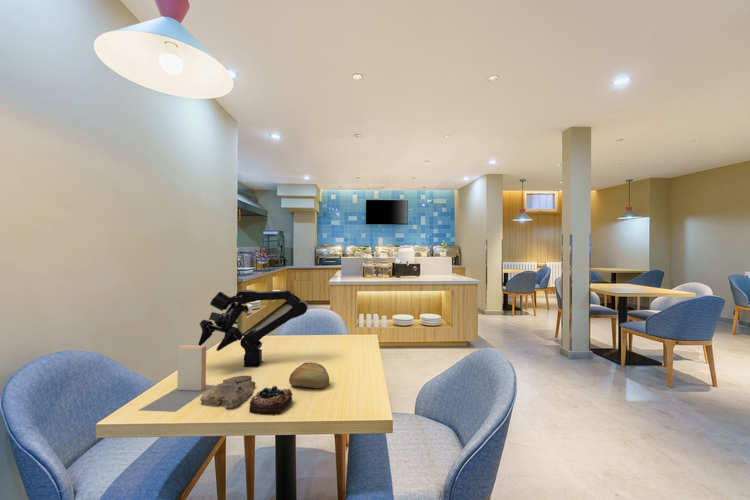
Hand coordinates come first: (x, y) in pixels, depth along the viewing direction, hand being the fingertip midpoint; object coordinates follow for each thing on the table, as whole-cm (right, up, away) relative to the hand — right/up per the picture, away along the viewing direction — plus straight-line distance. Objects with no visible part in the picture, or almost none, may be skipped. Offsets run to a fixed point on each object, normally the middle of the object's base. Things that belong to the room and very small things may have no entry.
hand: (207, 347), depth 126 cm
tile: (+2, -10, -15) cm, 18 cm away
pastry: (+34, -11, -27) cm, 45 cm away
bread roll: (+43, -11, -11) cm, 46 cm away
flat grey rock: (+18, -11, -18) cm, 28 cm away
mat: (+2, -10, -21) cm, 23 cm away
